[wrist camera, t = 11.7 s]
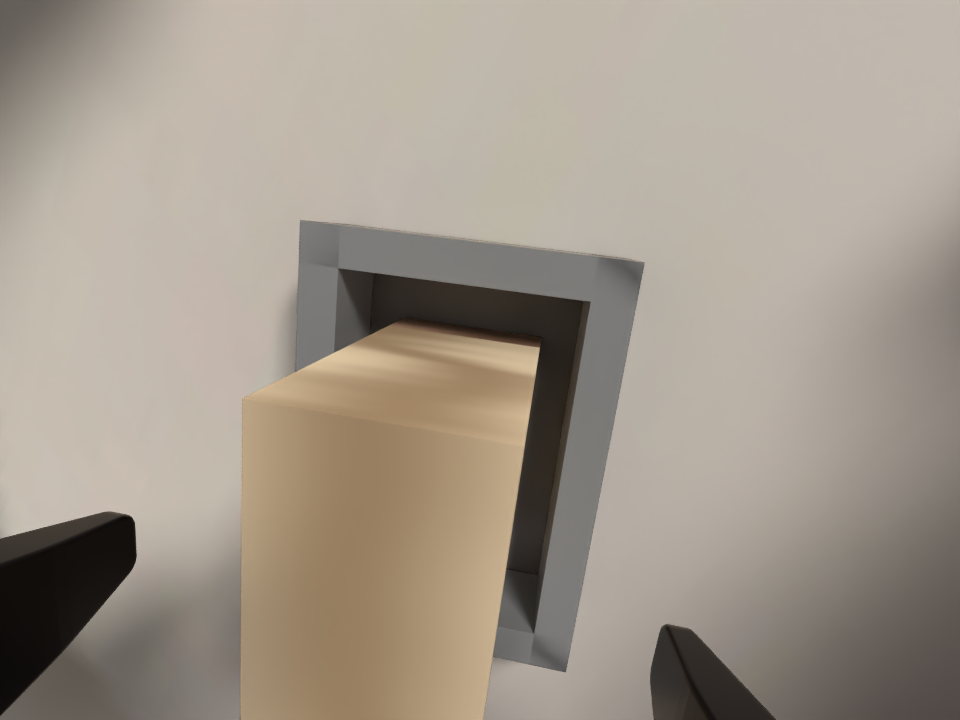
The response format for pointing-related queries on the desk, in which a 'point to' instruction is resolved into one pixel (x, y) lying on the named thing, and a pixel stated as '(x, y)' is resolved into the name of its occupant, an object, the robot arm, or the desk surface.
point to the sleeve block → (381, 524)
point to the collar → (590, 402)
